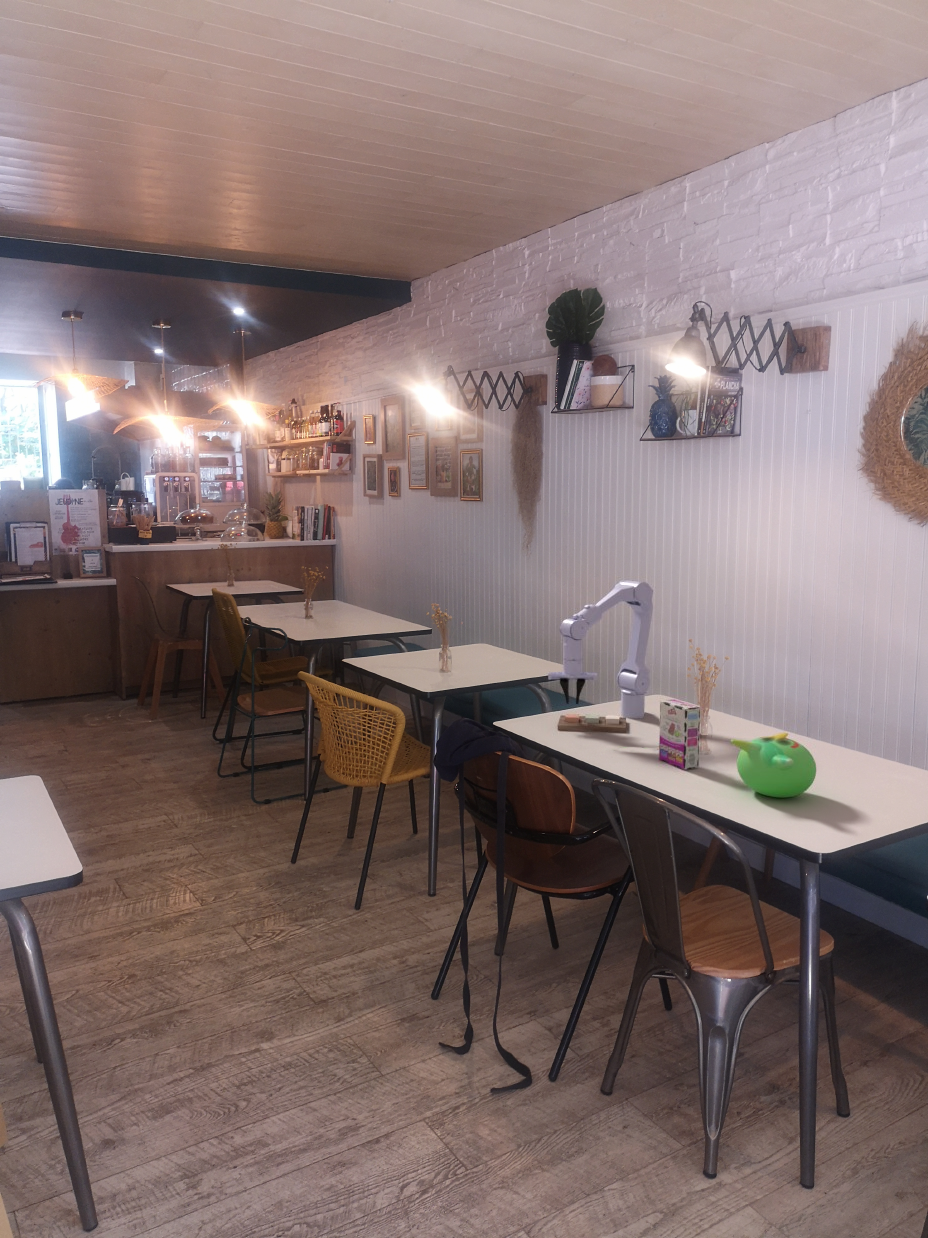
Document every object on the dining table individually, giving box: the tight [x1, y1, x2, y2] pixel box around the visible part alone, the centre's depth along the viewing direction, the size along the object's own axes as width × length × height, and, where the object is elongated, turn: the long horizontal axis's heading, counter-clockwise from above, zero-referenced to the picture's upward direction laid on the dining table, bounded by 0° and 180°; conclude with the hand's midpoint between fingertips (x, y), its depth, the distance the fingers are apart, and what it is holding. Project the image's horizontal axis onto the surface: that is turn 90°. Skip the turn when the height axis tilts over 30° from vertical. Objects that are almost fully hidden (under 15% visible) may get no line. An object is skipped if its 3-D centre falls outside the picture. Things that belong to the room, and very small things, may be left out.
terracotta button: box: [565, 713, 580, 723], centre depth 276 cm, size 4×4×3 cm
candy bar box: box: [658, 699, 701, 771], centre depth 241 cm, size 11×5×16 cm, turn 25°
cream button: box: [605, 714, 620, 724], centre depth 274 cm, size 4×4×3 cm
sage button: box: [585, 714, 600, 723], centre depth 275 cm, size 4×4×3 cm
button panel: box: [557, 714, 627, 734], centre depth 275 cm, size 12×20×3 cm, turn 80°
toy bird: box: [730, 732, 817, 798], centre depth 216 cm, size 18×17×15 cm
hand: (572, 703), depth 275 cm, fingers open, 2 cm apart
